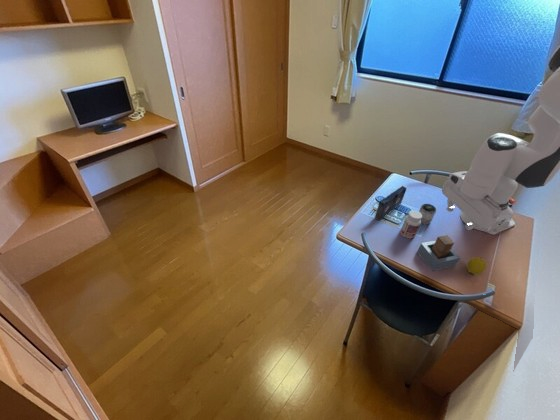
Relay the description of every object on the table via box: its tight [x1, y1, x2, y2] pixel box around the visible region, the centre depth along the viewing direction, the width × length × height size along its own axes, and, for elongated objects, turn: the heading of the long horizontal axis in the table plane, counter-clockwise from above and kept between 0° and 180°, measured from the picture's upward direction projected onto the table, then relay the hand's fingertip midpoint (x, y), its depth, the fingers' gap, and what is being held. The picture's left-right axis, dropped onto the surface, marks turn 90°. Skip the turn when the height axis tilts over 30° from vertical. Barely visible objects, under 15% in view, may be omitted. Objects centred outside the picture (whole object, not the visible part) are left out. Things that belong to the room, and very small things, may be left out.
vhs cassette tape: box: [374, 185, 407, 221], centre depth 131 cm, size 18×3×10 cm, turn 129°
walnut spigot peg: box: [431, 234, 455, 259], centre depth 108 cm, size 4×4×10 cm
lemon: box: [466, 256, 487, 275], centre depth 105 cm, size 6×6×8 cm
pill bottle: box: [400, 209, 422, 239], centre depth 119 cm, size 6×6×11 cm
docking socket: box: [416, 239, 461, 272], centre depth 111 cm, size 10×10×5 cm
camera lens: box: [419, 203, 437, 225], centre depth 127 cm, size 6×6×8 cm
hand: (458, 219), depth 98 cm, fingers open, 8 cm apart
